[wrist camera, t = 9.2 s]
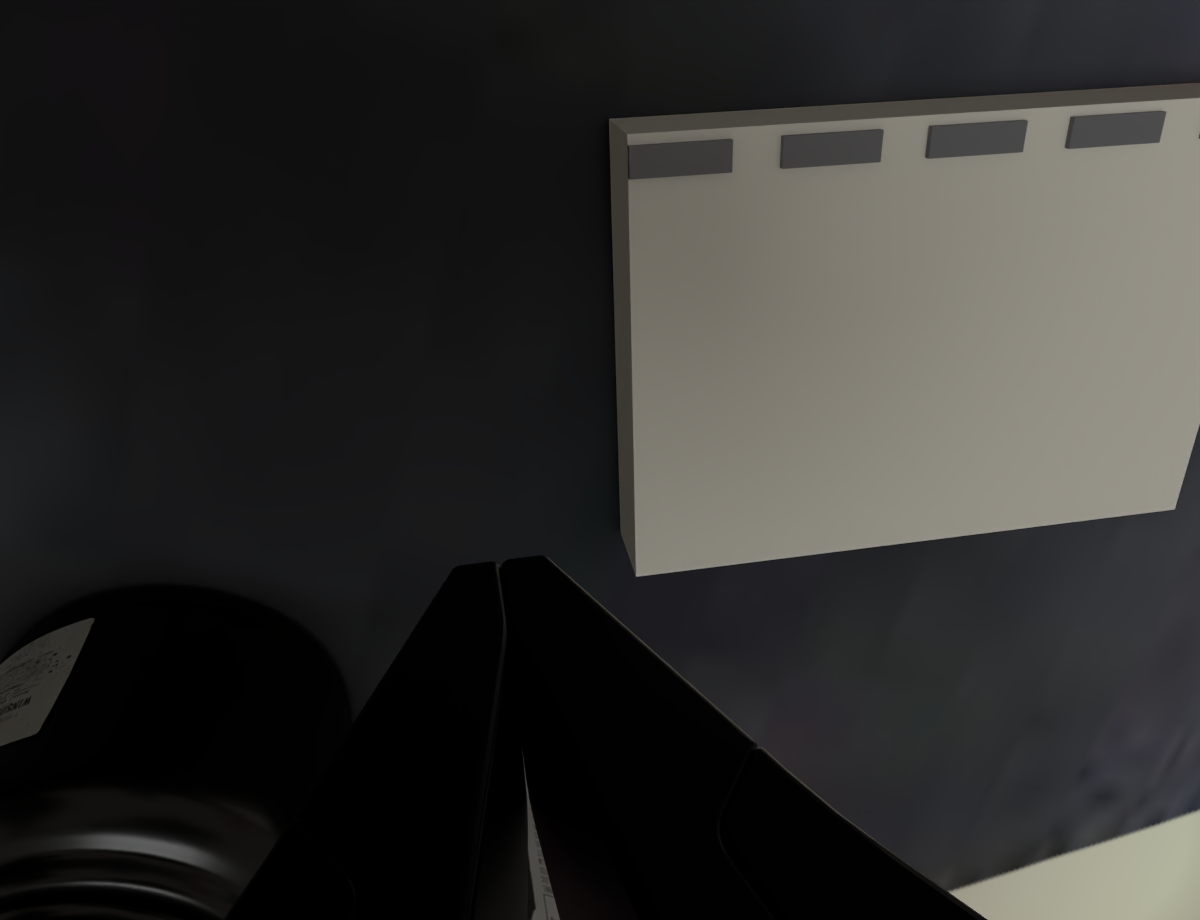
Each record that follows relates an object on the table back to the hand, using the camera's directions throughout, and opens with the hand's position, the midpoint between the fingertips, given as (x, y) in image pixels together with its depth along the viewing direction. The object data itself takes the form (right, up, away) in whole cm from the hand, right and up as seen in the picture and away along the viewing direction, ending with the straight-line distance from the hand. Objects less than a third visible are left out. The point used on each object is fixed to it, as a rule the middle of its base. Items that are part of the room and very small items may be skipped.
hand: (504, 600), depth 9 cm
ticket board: (+8, +5, +14) cm, 17 cm away
